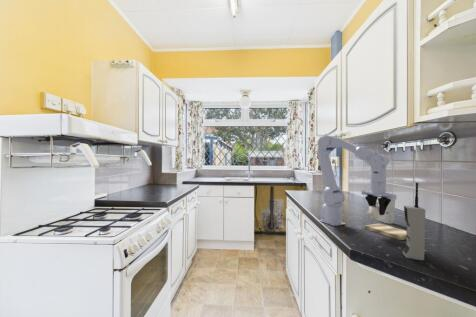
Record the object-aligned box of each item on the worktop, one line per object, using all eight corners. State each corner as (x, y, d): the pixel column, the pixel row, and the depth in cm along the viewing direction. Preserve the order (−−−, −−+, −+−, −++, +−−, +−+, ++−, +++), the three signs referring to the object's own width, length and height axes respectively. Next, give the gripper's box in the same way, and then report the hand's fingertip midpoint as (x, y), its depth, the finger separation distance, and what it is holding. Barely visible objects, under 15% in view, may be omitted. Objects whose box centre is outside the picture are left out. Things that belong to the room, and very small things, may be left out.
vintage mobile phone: (402, 253, 81) (404, 181, 81) (420, 256, 79) (422, 182, 79) (405, 258, 78) (407, 182, 77) (424, 260, 76) (426, 183, 75)
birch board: (364, 228, 109) (364, 225, 109) (379, 226, 113) (379, 223, 113) (400, 240, 95) (400, 236, 95) (415, 237, 99) (415, 233, 99)
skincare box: (377, 220, 124) (378, 197, 124) (384, 220, 125) (384, 197, 125) (388, 224, 118) (388, 199, 118) (394, 223, 119) (395, 199, 119)
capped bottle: (364, 218, 101) (364, 206, 101) (379, 216, 105) (379, 205, 105) (372, 220, 98) (372, 208, 98) (387, 218, 101) (387, 206, 101)
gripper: (357, 180, 106) (356, 210, 107) (388, 184, 93) (387, 218, 93) (367, 180, 109) (367, 209, 109) (400, 183, 96) (399, 217, 96)
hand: (377, 213), depth 102 cm, fingers closed on capped bottle, 4 cm apart
